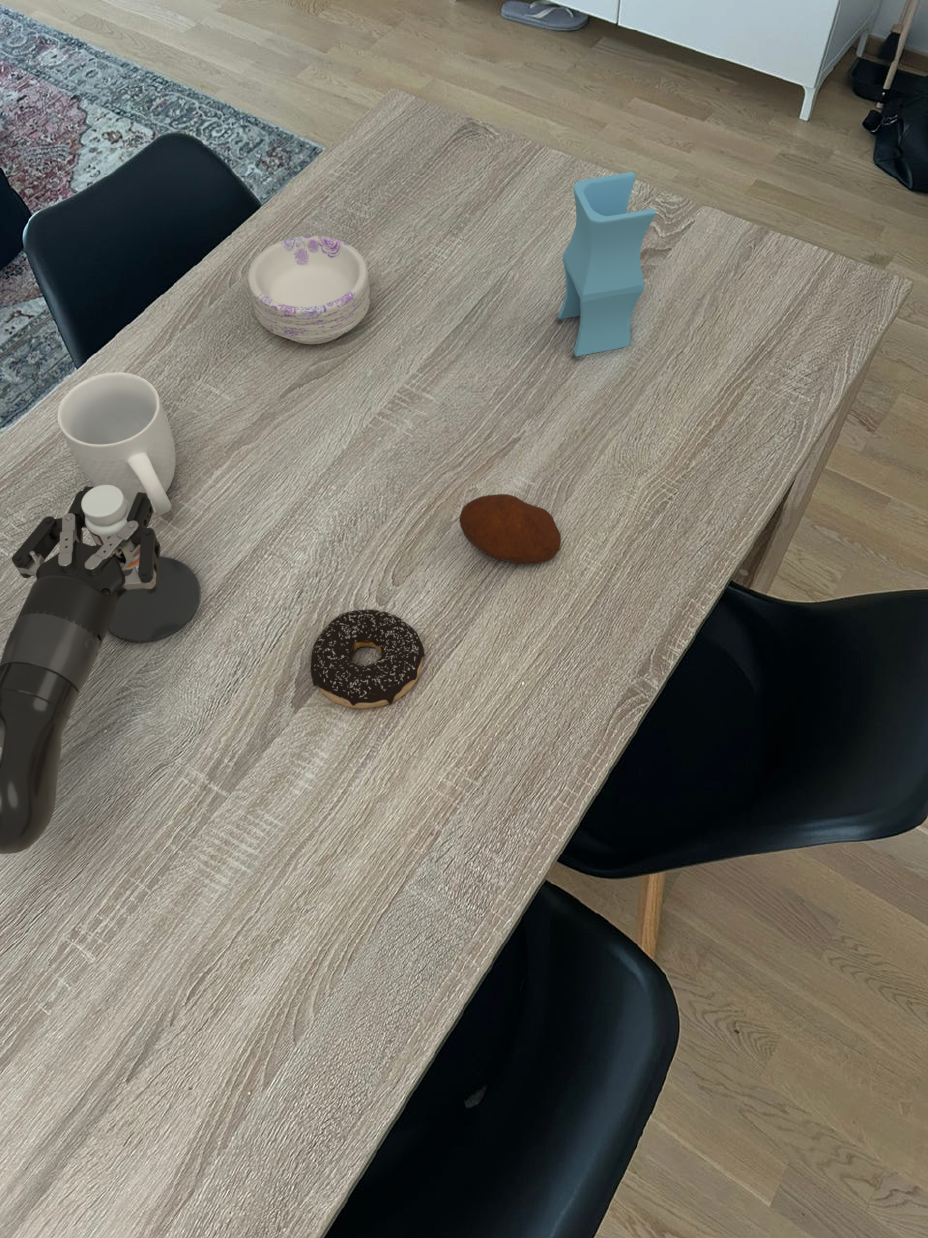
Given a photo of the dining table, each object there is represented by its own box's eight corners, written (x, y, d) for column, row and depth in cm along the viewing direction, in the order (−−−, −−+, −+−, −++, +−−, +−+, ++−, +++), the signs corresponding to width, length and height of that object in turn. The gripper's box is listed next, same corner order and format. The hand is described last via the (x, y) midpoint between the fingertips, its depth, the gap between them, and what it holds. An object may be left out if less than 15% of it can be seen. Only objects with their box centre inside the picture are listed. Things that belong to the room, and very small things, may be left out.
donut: (314, 625, 112) (309, 604, 109) (423, 619, 113) (422, 599, 109) (312, 716, 106) (307, 698, 103) (427, 710, 107) (426, 692, 103)
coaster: (88, 640, 112) (86, 637, 111) (112, 556, 117) (111, 554, 117) (189, 645, 111) (188, 642, 111) (209, 561, 117) (208, 558, 116)
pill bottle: (154, 534, 108) (132, 481, 101) (144, 572, 105) (121, 520, 98) (109, 533, 108) (83, 480, 101) (98, 570, 105) (71, 518, 98)
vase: (633, 345, 135) (657, 212, 118) (575, 356, 134) (590, 223, 117) (614, 305, 139) (634, 170, 122) (557, 315, 138) (569, 181, 121)
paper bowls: (352, 269, 143) (346, 220, 136) (387, 343, 135) (383, 294, 128) (244, 297, 140) (233, 247, 133) (274, 373, 132) (263, 325, 126)
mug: (219, 516, 120) (193, 439, 109) (132, 560, 117) (96, 486, 106) (162, 436, 127) (133, 356, 116) (78, 476, 124) (39, 398, 113)
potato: (553, 585, 115) (558, 542, 108) (451, 568, 116) (450, 525, 109) (563, 531, 119) (569, 486, 112) (465, 515, 120) (464, 470, 113)
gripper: (-3, 651, 97) (62, 510, 107) (144, 670, 96) (197, 526, 105) (-36, 606, 91) (36, 460, 100) (121, 626, 90) (179, 477, 99)
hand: (118, 495), depth 103 cm, fingers closed on pill bottle, 4 cm apart
